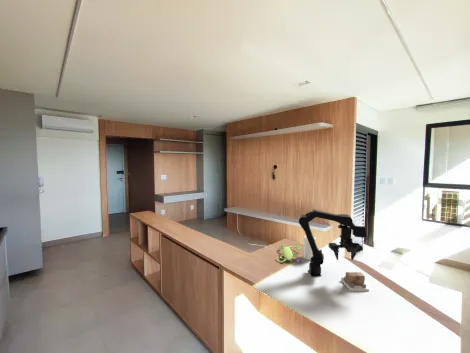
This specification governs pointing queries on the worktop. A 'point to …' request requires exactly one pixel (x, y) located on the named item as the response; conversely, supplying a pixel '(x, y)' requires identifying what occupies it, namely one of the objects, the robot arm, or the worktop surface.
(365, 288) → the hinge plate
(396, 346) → the worktop surface
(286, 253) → the figurine
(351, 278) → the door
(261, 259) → the worktop surface
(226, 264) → the worktop surface
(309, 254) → the cup
